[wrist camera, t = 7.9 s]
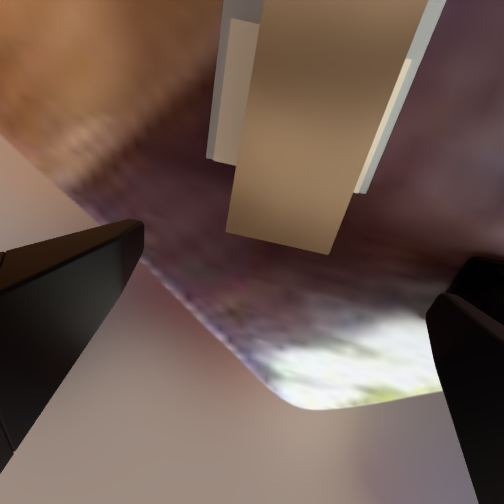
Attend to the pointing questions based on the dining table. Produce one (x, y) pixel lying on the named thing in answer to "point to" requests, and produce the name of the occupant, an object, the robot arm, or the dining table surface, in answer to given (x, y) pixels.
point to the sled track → (240, 70)
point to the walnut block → (315, 113)
